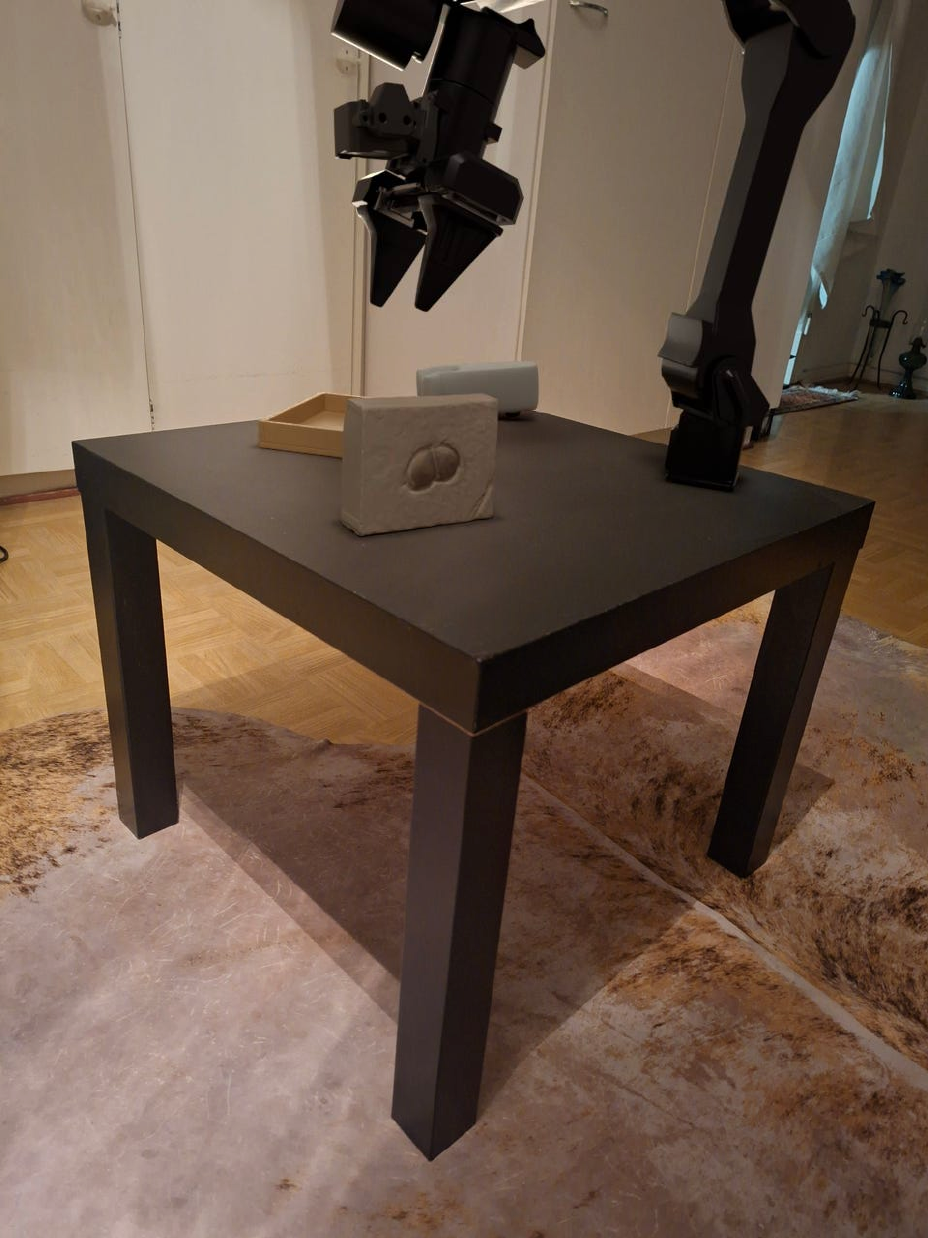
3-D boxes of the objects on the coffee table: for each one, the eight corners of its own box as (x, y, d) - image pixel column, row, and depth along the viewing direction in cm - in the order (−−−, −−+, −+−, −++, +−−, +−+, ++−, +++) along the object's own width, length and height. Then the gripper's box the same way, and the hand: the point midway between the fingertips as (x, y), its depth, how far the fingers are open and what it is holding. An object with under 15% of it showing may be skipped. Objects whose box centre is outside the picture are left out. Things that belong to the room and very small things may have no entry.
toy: (412, 434, 98) (542, 428, 97) (408, 378, 95) (541, 372, 94) (420, 413, 109) (536, 408, 108) (417, 362, 106) (536, 357, 105)
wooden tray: (482, 433, 95) (484, 410, 94) (449, 471, 79) (450, 444, 78) (321, 414, 98) (321, 391, 97) (258, 447, 82) (257, 420, 81)
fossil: (360, 538, 61) (363, 406, 57) (339, 523, 64) (340, 396, 60) (494, 518, 68) (505, 398, 63) (470, 505, 70) (479, 389, 66)
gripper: (323, 68, 66) (268, 267, 70) (419, 8, 51) (343, 267, 54) (442, 136, 72) (386, 316, 76) (560, 100, 57) (484, 328, 60)
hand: (396, 307), depth 66 cm, fingers open, 9 cm apart
